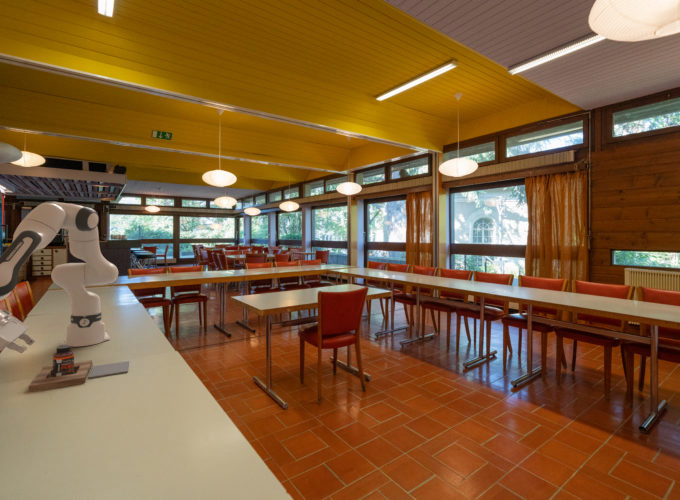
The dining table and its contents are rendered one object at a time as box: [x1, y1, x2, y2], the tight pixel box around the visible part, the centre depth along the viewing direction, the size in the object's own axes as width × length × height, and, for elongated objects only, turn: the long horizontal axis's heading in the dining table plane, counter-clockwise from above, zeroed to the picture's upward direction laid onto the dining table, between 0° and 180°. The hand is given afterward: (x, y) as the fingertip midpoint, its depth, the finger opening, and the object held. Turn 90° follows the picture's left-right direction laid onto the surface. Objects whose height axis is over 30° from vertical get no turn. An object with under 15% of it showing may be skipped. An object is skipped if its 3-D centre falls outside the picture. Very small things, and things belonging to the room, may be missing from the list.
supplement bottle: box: [52, 345, 75, 377], centre depth 120 cm, size 6×6×11 cm
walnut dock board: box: [28, 359, 93, 393], centre depth 120 cm, size 19×15×2 cm
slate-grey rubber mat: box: [87, 360, 130, 380], centre depth 127 cm, size 12×12×1 cm
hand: (29, 347), depth 115 cm, fingers open, 8 cm apart
